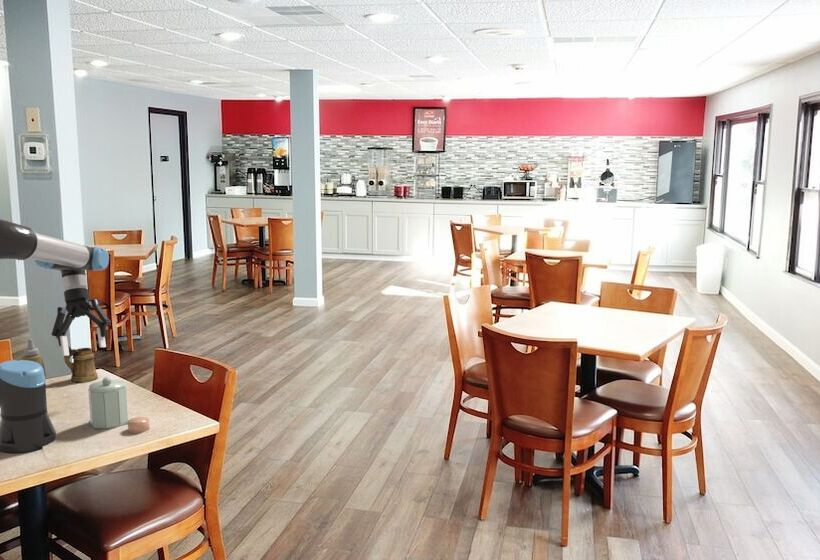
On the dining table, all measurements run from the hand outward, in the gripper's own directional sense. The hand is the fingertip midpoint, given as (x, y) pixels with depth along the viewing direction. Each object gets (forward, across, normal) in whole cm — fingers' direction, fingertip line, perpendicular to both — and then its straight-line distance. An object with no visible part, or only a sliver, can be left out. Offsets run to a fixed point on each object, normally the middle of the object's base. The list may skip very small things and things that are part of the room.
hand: (84, 351), depth 244 cm
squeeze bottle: (+8, +29, -12) cm, 32 cm away
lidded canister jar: (+25, -14, +15) cm, 33 cm away
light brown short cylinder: (+30, -26, +18) cm, 43 cm away
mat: (+26, -14, +14) cm, 33 cm away
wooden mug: (+7, +20, -24) cm, 32 cm away
